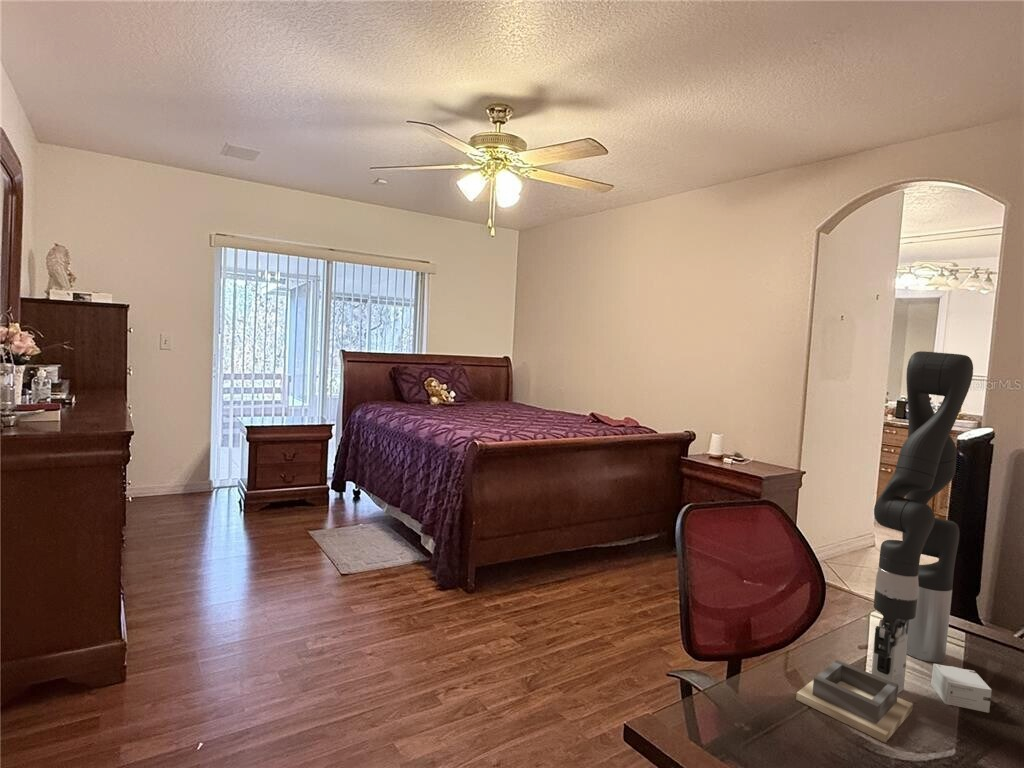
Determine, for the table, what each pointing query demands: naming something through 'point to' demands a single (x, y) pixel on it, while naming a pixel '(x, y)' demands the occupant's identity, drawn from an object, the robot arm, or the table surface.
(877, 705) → the keyed socket block
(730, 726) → the table surface
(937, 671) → the small box
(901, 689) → the skincare box
